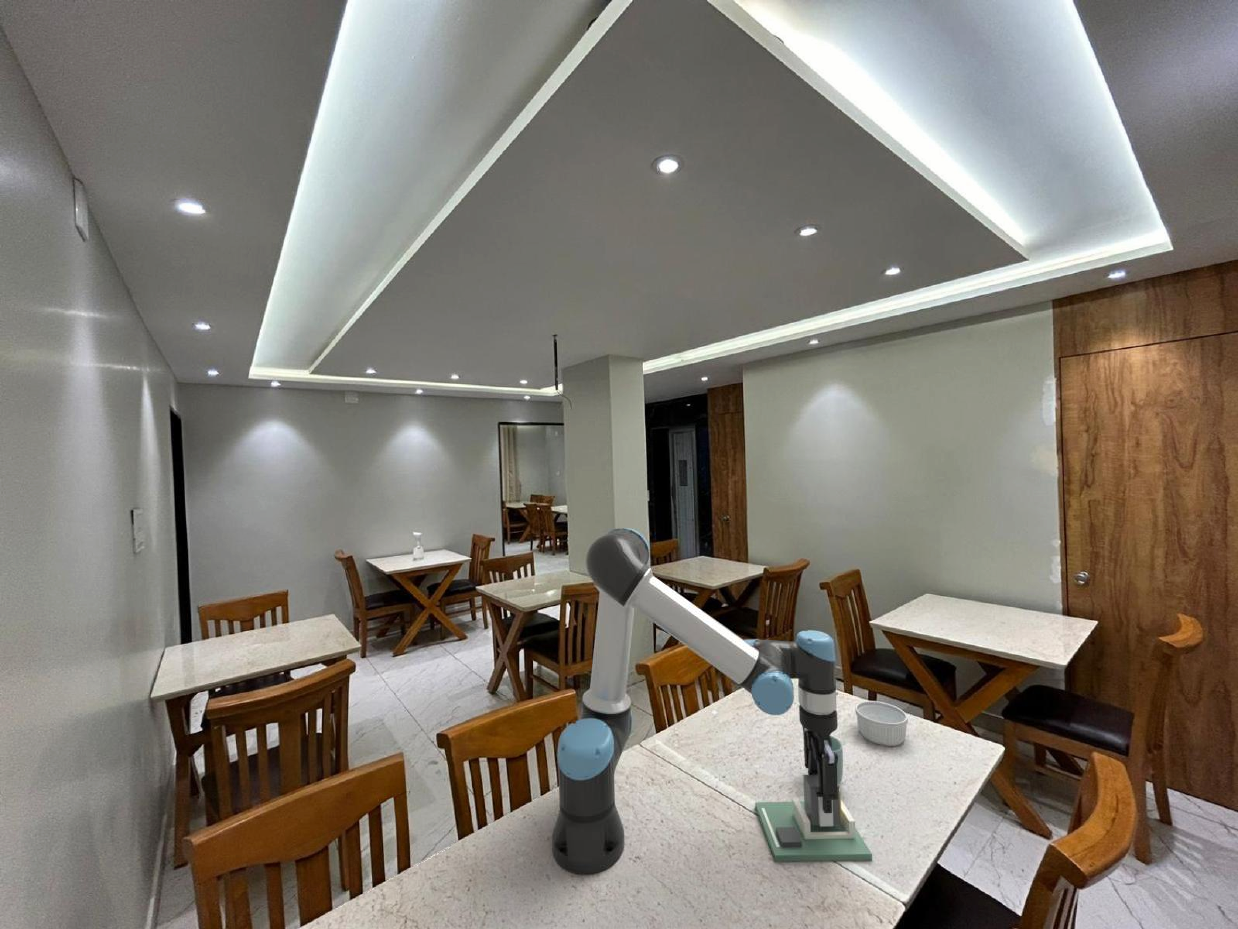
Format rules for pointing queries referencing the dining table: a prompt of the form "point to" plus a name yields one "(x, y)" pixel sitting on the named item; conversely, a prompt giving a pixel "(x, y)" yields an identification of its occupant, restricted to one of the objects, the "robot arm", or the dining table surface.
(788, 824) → the board
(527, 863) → the dining table surface
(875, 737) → the ramekin
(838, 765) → the cup
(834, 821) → the plug
